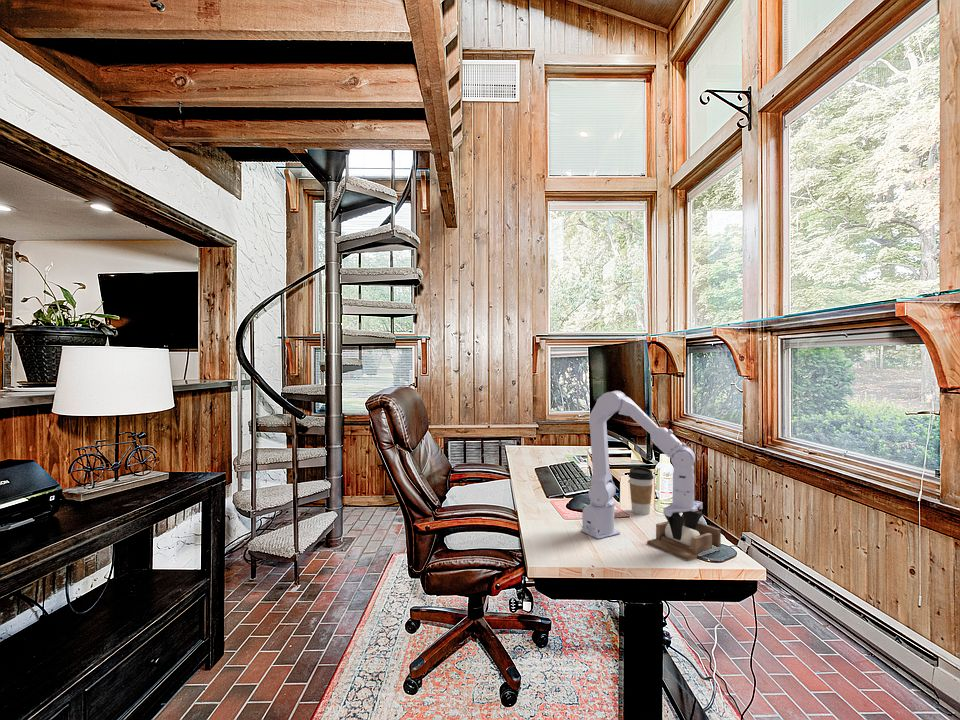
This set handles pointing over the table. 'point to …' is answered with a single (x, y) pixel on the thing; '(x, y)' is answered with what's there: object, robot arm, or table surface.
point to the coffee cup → (640, 489)
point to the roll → (686, 535)
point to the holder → (699, 545)
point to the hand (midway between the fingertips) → (683, 537)
